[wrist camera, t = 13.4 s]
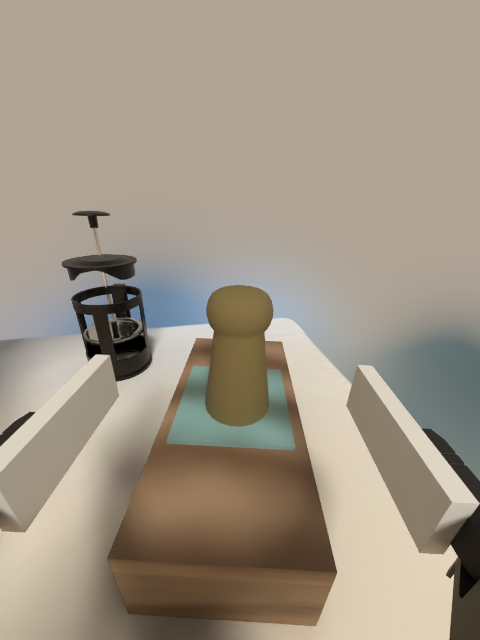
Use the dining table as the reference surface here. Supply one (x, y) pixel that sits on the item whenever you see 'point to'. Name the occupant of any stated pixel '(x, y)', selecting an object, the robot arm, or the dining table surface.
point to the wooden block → (226, 512)
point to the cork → (238, 355)
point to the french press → (111, 309)
